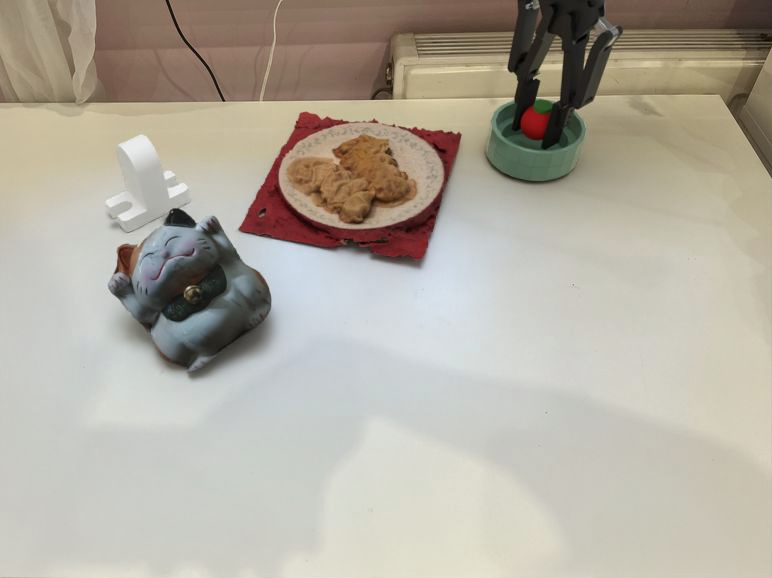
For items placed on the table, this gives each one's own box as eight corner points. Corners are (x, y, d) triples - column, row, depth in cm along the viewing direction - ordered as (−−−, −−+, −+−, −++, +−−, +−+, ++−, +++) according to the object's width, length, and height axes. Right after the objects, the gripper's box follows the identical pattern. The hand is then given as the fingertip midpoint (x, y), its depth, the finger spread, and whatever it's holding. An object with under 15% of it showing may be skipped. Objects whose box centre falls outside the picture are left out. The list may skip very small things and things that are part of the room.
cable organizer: (192, 200, 91) (178, 136, 84) (127, 233, 88) (106, 170, 80) (171, 181, 94) (156, 117, 86) (107, 212, 91) (85, 149, 83)
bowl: (568, 130, 98) (577, 98, 94) (582, 185, 91) (594, 153, 87) (481, 128, 99) (487, 97, 95) (489, 183, 91) (496, 152, 87)
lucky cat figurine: (165, 391, 73) (86, 288, 65) (159, 340, 83) (91, 246, 76) (288, 322, 72) (222, 211, 65) (267, 279, 83) (208, 179, 75)
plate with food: (460, 144, 97) (464, 123, 94) (422, 266, 82) (424, 245, 79) (301, 120, 102) (300, 99, 100) (237, 230, 87) (234, 209, 85)
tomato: (549, 127, 94) (559, 94, 90) (554, 147, 91) (564, 115, 87) (515, 126, 94) (523, 94, 90) (519, 147, 91) (527, 115, 87)
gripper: (500, -67, 77) (468, 116, 95) (631, -10, 68) (567, 179, 86) (545, -85, 79) (505, 96, 98) (678, -33, 70) (606, 156, 89)
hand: (534, 135), depth 92 cm, fingers closed on tomato, 4 cm apart
